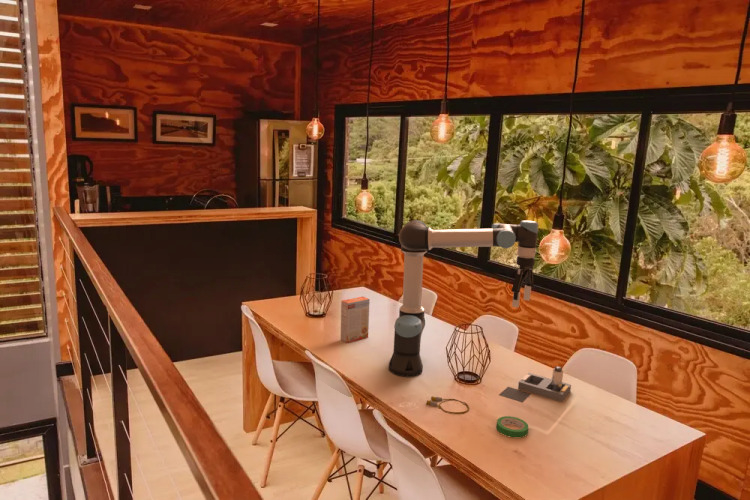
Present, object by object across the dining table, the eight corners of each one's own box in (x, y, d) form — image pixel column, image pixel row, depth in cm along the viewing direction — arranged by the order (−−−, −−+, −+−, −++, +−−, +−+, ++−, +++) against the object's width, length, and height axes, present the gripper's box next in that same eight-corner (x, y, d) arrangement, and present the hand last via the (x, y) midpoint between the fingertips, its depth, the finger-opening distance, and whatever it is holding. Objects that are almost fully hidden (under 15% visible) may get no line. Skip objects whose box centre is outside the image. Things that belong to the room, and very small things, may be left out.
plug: (559, 396, 225) (562, 370, 222) (549, 393, 227) (552, 368, 224) (561, 392, 228) (564, 367, 226) (551, 390, 230) (554, 365, 228)
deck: (522, 404, 218) (522, 402, 218) (498, 397, 224) (498, 394, 223) (531, 395, 226) (531, 393, 226) (507, 388, 232) (508, 386, 231)
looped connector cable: (441, 394, 224) (441, 390, 224) (474, 408, 214) (475, 404, 214) (423, 404, 216) (423, 399, 215) (456, 419, 205) (457, 414, 205)
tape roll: (527, 425, 203) (527, 418, 203) (528, 440, 192) (529, 433, 192) (496, 420, 205) (497, 413, 205) (495, 435, 195) (496, 428, 194)
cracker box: (361, 334, 287) (362, 295, 283) (368, 338, 282) (370, 298, 278) (339, 339, 278) (340, 299, 274) (346, 343, 274) (348, 303, 269)
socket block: (561, 404, 220) (562, 394, 219) (517, 390, 230) (518, 381, 229) (570, 393, 230) (571, 384, 229) (527, 381, 240) (528, 372, 239)
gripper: (524, 262, 228) (518, 311, 232) (543, 253, 248) (538, 299, 252) (506, 259, 232) (502, 307, 236) (527, 251, 252) (523, 295, 256)
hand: (521, 303), depth 244 cm, fingers open, 13 cm apart
